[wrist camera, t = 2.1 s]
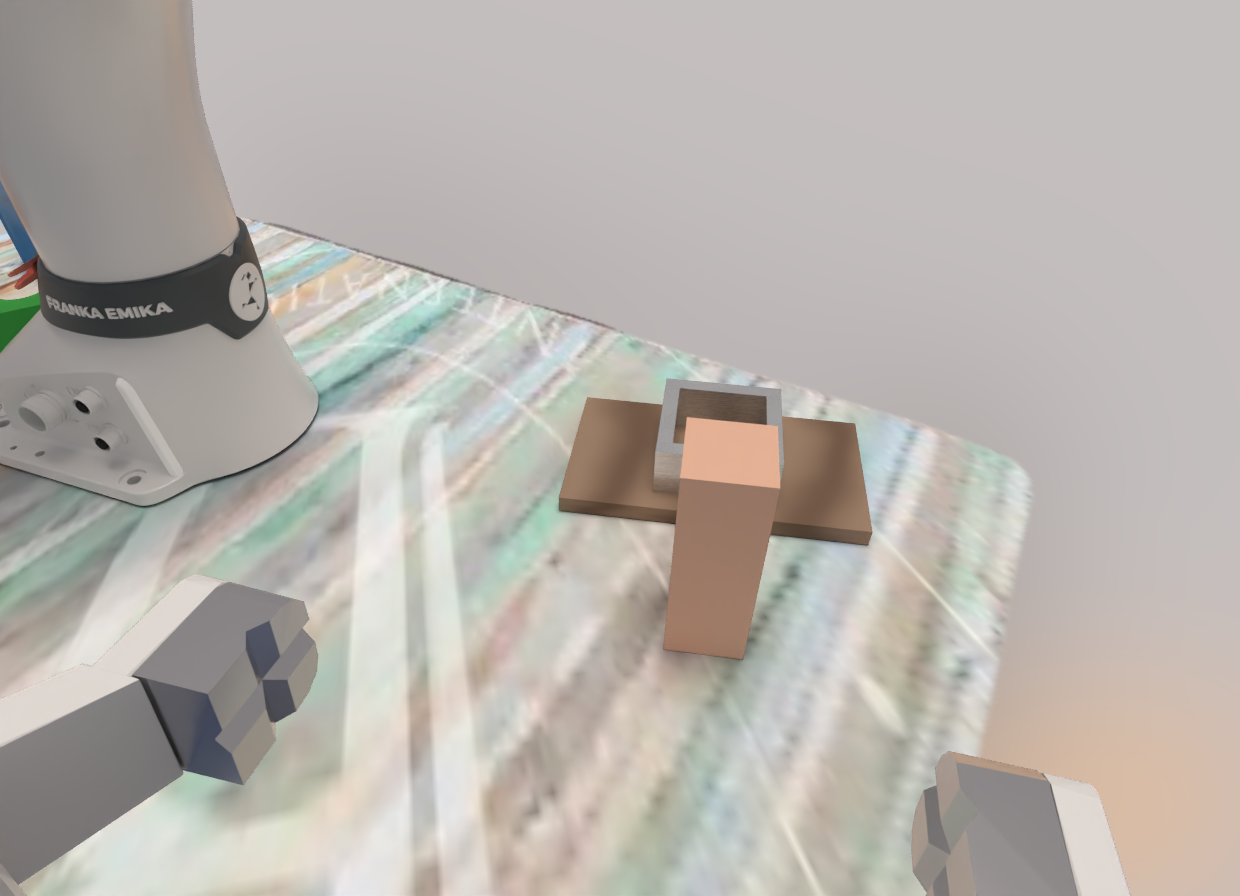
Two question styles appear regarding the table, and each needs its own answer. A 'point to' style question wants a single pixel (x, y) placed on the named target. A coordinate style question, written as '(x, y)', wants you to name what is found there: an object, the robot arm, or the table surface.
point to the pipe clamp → (16, 316)
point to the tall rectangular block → (721, 534)
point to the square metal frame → (713, 405)
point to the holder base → (623, 487)
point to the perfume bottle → (15, 227)
